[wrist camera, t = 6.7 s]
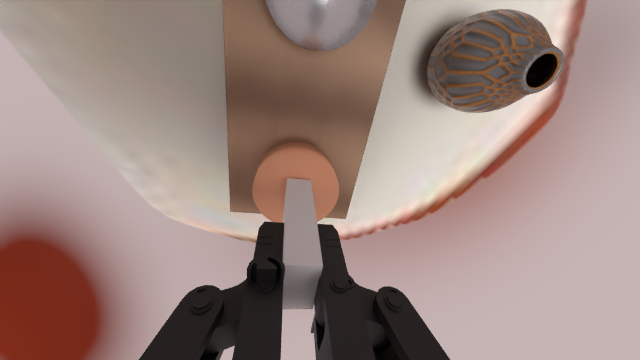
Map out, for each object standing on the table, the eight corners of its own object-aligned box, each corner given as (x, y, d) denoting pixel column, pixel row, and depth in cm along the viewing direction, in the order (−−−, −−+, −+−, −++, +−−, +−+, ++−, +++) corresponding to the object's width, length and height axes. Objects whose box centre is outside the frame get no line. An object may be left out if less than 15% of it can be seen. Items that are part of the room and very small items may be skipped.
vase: (505, 45, 20) (630, 44, 13) (451, 114, 23) (527, 146, 16) (453, -4, 18) (566, -40, 11) (399, 79, 21) (459, 97, 13)
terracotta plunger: (265, 118, 19) (253, 148, 13) (331, 127, 20) (347, 159, 14) (262, 178, 21) (251, 224, 16) (321, 183, 22) (330, 228, 17)
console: (243, -95, 15) (216, -173, 9) (388, -54, 16) (433, -102, 11) (243, 176, 24) (230, 211, 19) (335, 184, 26) (345, 218, 21)
